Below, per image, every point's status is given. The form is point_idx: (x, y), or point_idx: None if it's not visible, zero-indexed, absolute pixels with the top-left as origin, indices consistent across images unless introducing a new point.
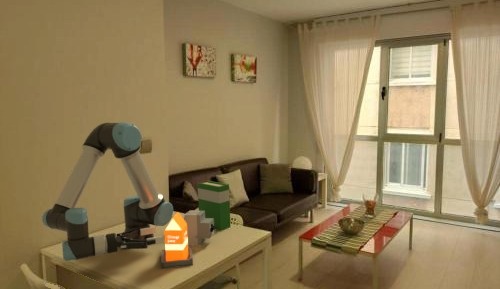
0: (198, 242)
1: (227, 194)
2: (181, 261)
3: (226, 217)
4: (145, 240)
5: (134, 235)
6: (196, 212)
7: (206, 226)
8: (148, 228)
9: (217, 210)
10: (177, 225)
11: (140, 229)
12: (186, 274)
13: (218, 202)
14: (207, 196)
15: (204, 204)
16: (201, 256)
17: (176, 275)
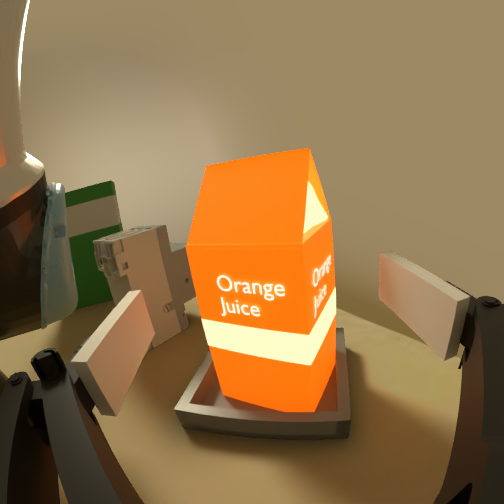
0: (180, 321)
1: (117, 205)
2: (345, 356)
3: None
4: (494, 300)
5: (113, 462)
6: (129, 231)
7: None
8: (120, 319)
9: None
10: (314, 197)
11: (82, 362)
12: (415, 354)
13: (114, 223)
14: (73, 224)
15: None
16: None
17: (423, 377)
